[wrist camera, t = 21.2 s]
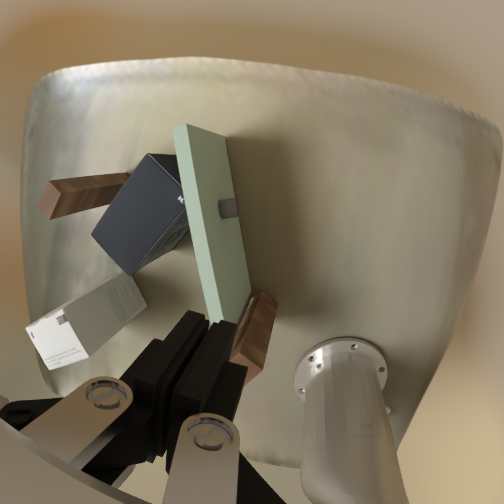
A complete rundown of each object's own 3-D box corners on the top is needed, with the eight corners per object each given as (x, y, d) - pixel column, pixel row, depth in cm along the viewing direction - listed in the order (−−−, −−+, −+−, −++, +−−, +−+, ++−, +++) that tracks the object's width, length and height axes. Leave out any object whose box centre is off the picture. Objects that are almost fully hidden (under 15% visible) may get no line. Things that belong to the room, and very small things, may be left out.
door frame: (278, 303, 39) (262, 370, 26) (262, 319, 40) (240, 389, 26) (124, 172, 38) (48, 180, 24) (112, 191, 39) (37, 207, 25)
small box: (187, 151, 36) (145, 148, 26) (227, 189, 36) (197, 198, 26) (135, 216, 39) (86, 233, 29) (171, 252, 40) (130, 280, 30)
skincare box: (109, 321, 44) (49, 374, 30) (90, 285, 43) (21, 329, 29) (151, 304, 42) (90, 362, 28) (129, 264, 41) (58, 309, 27)
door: (264, 297, 38) (246, 351, 27) (243, 299, 39) (217, 352, 28) (236, 134, 34) (203, 119, 23) (214, 138, 35) (171, 127, 23)
